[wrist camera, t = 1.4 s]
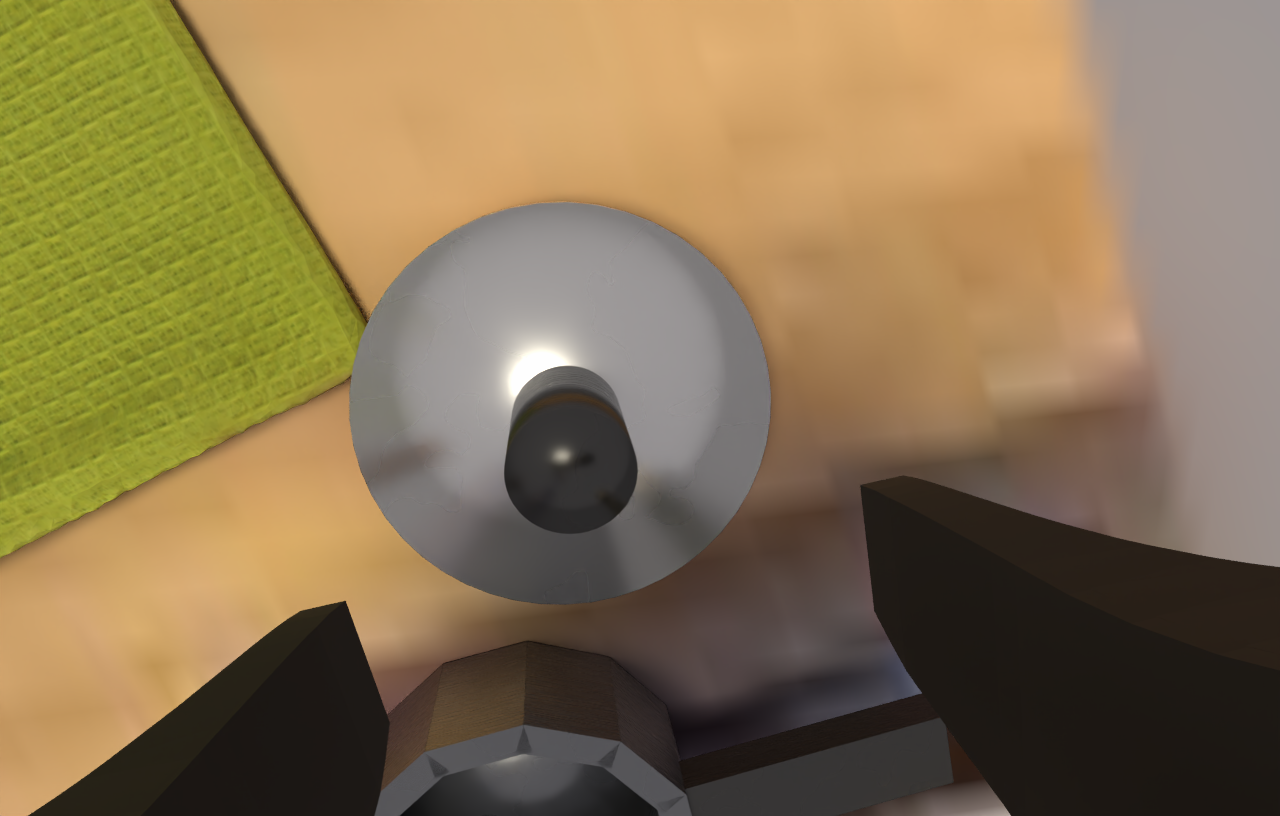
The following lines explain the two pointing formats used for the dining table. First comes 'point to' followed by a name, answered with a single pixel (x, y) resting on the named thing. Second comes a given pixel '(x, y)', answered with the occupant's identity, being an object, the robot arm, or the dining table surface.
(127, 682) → the dining table surface
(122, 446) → the dish towel
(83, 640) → the dining table surface
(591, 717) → the cooker base
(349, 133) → the dining table surface
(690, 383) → the lid
